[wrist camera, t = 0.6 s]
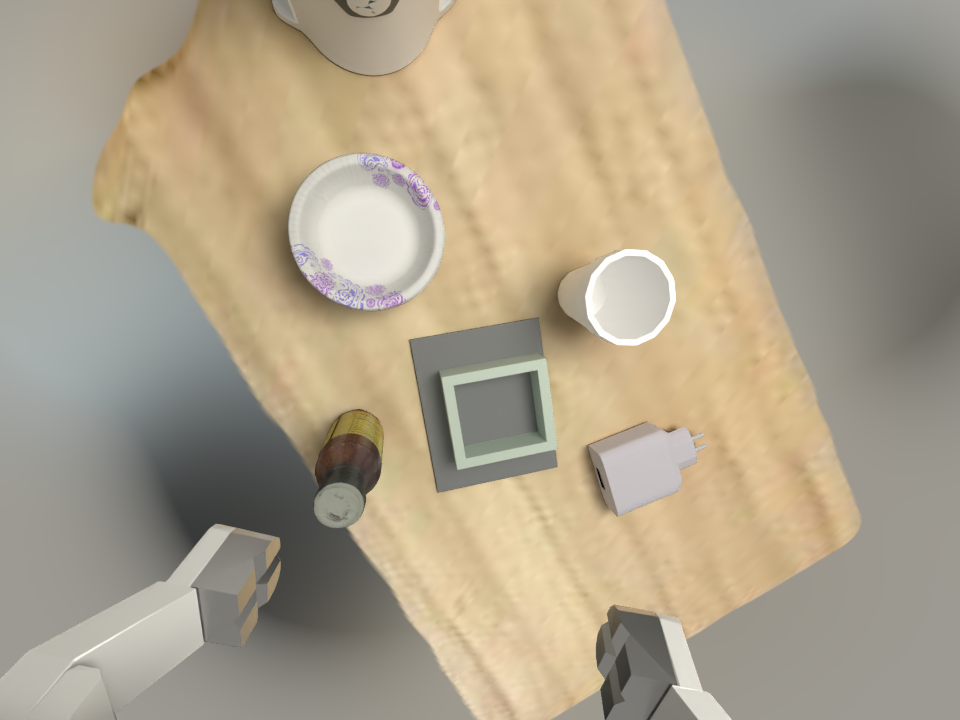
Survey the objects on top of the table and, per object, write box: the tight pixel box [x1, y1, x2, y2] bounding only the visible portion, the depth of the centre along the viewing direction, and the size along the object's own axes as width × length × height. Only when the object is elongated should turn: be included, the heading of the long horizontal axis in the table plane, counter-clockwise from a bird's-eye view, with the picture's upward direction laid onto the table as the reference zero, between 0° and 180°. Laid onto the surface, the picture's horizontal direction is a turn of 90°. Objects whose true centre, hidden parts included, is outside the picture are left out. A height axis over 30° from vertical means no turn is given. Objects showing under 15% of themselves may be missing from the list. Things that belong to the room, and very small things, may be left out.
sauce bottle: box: [313, 409, 384, 528], centre depth 46 cm, size 7×6×20 cm
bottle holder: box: [439, 353, 558, 470], centre depth 56 cm, size 11×12×4 cm
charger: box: [588, 422, 707, 517], centre depth 60 cm, size 5×9×15 cm
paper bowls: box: [288, 153, 445, 311], centre depth 48 cm, size 15×15×8 cm
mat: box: [410, 318, 557, 493], centre depth 58 cm, size 20×16×1 cm
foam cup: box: [558, 249, 676, 345], centre depth 51 cm, size 10×9×13 cm
